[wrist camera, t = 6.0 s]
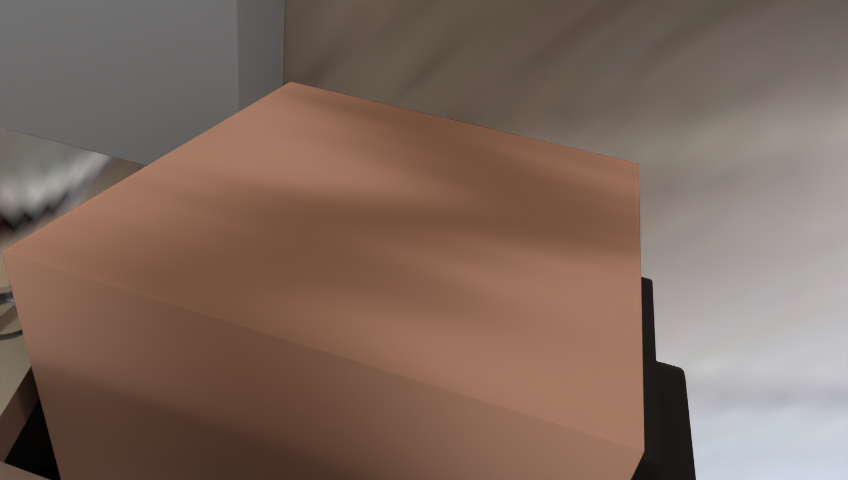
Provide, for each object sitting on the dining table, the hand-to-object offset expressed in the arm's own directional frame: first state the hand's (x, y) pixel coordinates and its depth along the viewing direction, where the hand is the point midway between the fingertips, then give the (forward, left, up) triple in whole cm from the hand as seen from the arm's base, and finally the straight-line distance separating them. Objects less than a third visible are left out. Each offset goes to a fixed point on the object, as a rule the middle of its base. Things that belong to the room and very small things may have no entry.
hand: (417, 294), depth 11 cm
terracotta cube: (0, 0, -1) cm, 1 cm away
